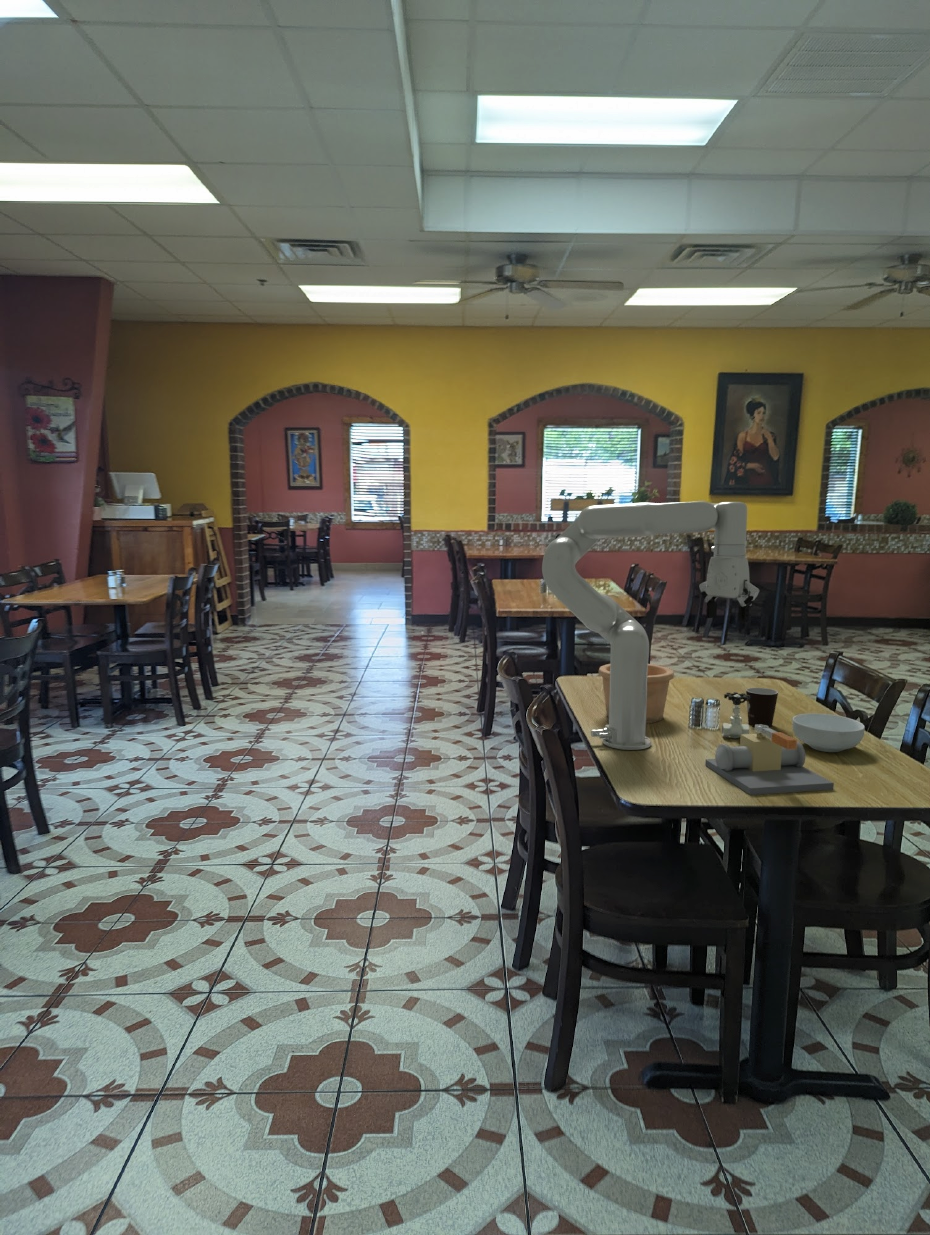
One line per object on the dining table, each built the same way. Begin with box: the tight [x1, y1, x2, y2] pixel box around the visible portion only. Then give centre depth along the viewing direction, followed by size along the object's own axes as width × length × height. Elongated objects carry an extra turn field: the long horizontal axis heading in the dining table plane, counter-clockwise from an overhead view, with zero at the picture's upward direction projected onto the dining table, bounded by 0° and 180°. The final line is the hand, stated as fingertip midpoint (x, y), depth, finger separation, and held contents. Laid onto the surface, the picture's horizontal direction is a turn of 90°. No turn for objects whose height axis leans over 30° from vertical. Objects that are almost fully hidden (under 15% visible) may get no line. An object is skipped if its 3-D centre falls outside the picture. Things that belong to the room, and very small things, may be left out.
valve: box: [721, 691, 750, 739], centre depth 207 cm, size 7×7×12 cm
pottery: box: [598, 663, 675, 724], centre depth 229 cm, size 22×22×14 cm
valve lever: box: [754, 724, 798, 749], centre depth 173 cm, size 14×3×2 cm, turn 10°
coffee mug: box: [745, 687, 779, 729], centre depth 221 cm, size 12×9×10 cm
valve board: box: [704, 733, 835, 796], centre depth 176 cm, size 20×20×9 cm
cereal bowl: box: [791, 712, 866, 753], centre depth 199 cm, size 17×17×7 cm
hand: (727, 619), depth 193 cm, fingers open, 9 cm apart
